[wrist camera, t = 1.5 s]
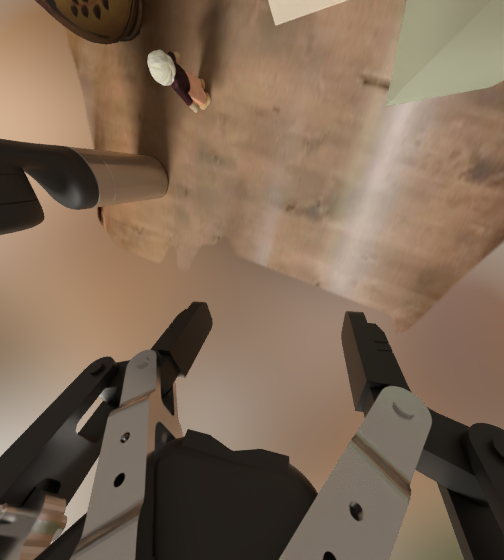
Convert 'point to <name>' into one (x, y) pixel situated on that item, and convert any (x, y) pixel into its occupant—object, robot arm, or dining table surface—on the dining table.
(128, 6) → the ceramic jug
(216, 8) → the dining table surface
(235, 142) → the dining table surface
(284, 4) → the tall stand
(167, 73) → the grandmother figurine
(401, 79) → the green tall block
